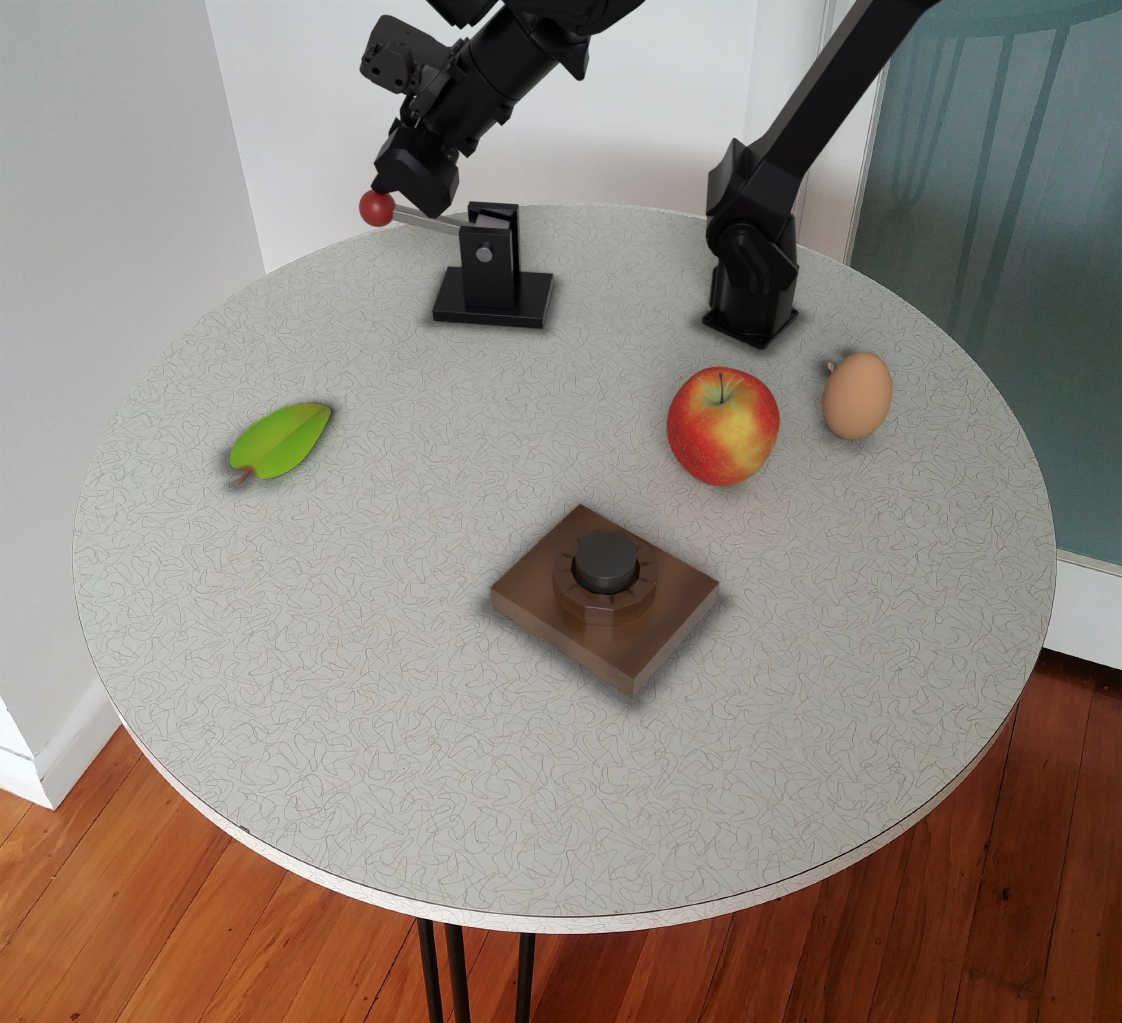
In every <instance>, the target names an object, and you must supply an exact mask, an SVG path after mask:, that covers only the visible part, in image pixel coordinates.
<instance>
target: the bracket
mask: <svg viewBox="0 0 1122 1023" xmlns="http://www.w3.org/2000/svg"><path fill="white" fill-rule="evenodd" d="M479 214H481V215H485V216H489V217H493V218H497V219H501V220H505V221H509V222H510V224H509V229H502V228H487V227H472V226H461V227H460V229H459V237H458V241H459V253H460V265H461V266H450V265H448V266H447V267H446V270H445V273H444V275H443V279H442V281H441V284H440V286H439V290H438V293H437V296H436V297H435V302H434V304H433V307H432V310H431V312H432V320H433V322H442V323H443V322H444V323H456V324H470V325H481V326H482V325H483V326H484V325H485V326H496V327H497V326H498V327H510V328H524V329H539V330H543V329H544V326H545V321H546V317H547V313H548V308H549V303H550V299H551V296H552V290H553V286H554V274H553V273H551V272H538V271H537V272H536V271H525V270H524V271H523V270H522V253H521V227H520V226H521V224H520V204H518V203H507V202H492V201H491V202H489V201H477V200H476V201H474V200H469V201H468V204H467V222H470V223H474V224H476V221H477V218H478V215H479Z"/></svg>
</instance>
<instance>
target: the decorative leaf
mask: <svg viewBox="0 0 1122 1023" xmlns="http://www.w3.org/2000/svg"><path fill="white" fill-rule="evenodd" d="M331 413H332V409H331V407H329V406H327V405H323V404H320V403H314V402H305V403H297V404H292V405H288V406H285V407H281V408H279V409H276V410H274V411H273V412H271V413H269V414H267V415H265V416H264V417H262V418H260V419H259V420H257V421H256V422H255V423H253V424H252V425H250V426H249V427H248V428H247V429H245V431H244V432H242V434H240V436H239V437H238V438H237V439H236V441H235V443H234V444H233V445H232V447H231V450H230V453H229V463H230V465H231V467H232V468H234V469H236V470H243V471H244V470H245V472H244V474H243V475H242V477H241V478H240V479H239V480H238V481H237V482H236V483H237V485H240V484H241V483H242V481H244V480H245V479H246V477H248V475H249V474H250V472H251V473H252V474H253V475H254V476H255V478H258V479H262V480H267V479H271V478H276V477H278V476H281V475H283V474H285V473H287V472H289V471H291V470H292V469H294V468H295V467H296V466H297V465H299V464H300V463H301V462H302V461H303V460H304V458H306V456H307V455H308V454H309V453H310V451H311V450H312V448H313V447H314V446H315V444H316V443H317V441H318V439H319V437H320V435H321V434H322V432H323V430H324V429H325V426H326V425H327V423H328V421H329V419H330V416H331Z"/></svg>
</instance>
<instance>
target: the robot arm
mask: <svg viewBox="0 0 1122 1023" xmlns="http://www.w3.org/2000/svg"><path fill="white" fill-rule="evenodd" d="M425 1H426V3H427V4H429V6H430V7H431V8H432V9H433V10H435V12H436V13H437V14H438V15H439V16H440V17H441V18H442V19H443V20H444V21H445V22H447V24H448V25H450V27H451V28H453V27H454V26H456V27H457V29H458V30H460V31H461V30H463V29H464V28H465V27H467V26H468V25H469V26H470V27H471V28H474V27H475V26H477V24H479V23H480V22H481V21H482V20H483V19H484V18H485V17H486V16H487V15H488V14H489V12H490V11H491V10H492V9H493V7H495V6H496V4H497V3H498V2H499V1H501V2H502V3H503V5H502V6H501V7H500V8H499V9H498V10H497V11H496V12H495V13H494V14H493V15H492V17H490V18H489V19H488V20H487V21H486V22H485V24H484V25H483V26H482V27H481V28H480V29H479V30H477V32H476V33H475V34H474V35H473V36H471V38H469V37H468V36H465V37H464V39H463V38H462V37H459V38H458V39H457V40H456V41H455V42H454V44H452V45H451V46H447V45H446V44H444V43H442V42H440V41H439V40H437V39H436V38H435V37H434V36H433V35H431V34H429V33H427V32H425V31H423V30H422V29H419V28H418V27H415V26H413V25H411V24H410V23H407V22H406V21H403V20H401V19H399V18H398V17H396V16H393V15H391V14H381V15H380V17H379V18H378V20H377V21H376V23H375V25H374V26H373V28H372V29H371V31H370V34H369V37H368V39H367V43H366V47H365V50H364V52H363V54H362V56H361V58H360V60H361V62H360V64H359V68H358V71H359V73H360V74H361V75H362V77H363V78H365V79H367V80H369V82H371V83H372V84H374V85H376V86H378V87H381V88H382V89H384V90H386V91H388V92H390V93H392V94H394V95H399V94H402V95H404V96H405V97H404V99H403V100H402V104H401V105H400V107H399V118H398V117H397V116H395V117H394V120H393V122H392V124H391V125H390V127H389V129H388V132H387V136H388V137H387V139H386V140H385V142H384V143H383V144H381V145H382V146H381V147H380V148H379V151H378V153H377V155H376V157H375V159H374V161H373V166H374V168H375V170H376V175H375V176H374V178H373V180H372V182H371V183H370V190H372V189H373V190H374V191H375V192H376V193H377V194H379V195H383V194H387V193H389V194H391V193H397V192H398V193H400V194H401V195H402V196H403V197H405V198H406V199H407V200H408V201H409V202H410V203H411V204H412V205H414V206H415V207H416V209H418V210H420V211H422V212H423V213H424V214H425V215H426V216H427V217H428V218H432V219H437V218H438V217H439V216H440V215H443V213H445V212H446V210H448V209H449V208H451V206H452V204H453V201H454V198H455V196H456V194H457V191H458V189H459V185H460V172H459V167H458V166H457V164H458V160H459V159H460V153H461V154H462V155H463V156H464V158H466V159H469V157H470V156H472V155H473V154H474V153H476V151H477V148H478V145H479V142H480V140H481V138H482V137H483V136H484V135H485V134H486V133H488V131H489V130H490V129H491V128H493V127H494V126H495V125H496V124H499V126H500V127H503V126H504V125H505V124H506V123H507V122H508V121H509V120H511V117H512V115H513V111H514V108H515V106H516V105H517V104H518V103H519V102H520V101H521V100H522V99H524V97H525V96H526V95H528V93H530V92H531V91H532V90H533V89H534V88H535V87H536V86H537V85H538V84H539V83H540V82H541V81H542V80H543V79H545V78H546V77H547V76H548V75H549V73H551V72H552V71H553V70H554V68H556V67H558V65H559V64H560V65H561V66H562V67H563V68H564V69H565V70H566V71H567V72H568V73H569V74H570V75H571V76H572V77H573V78H574V80H576V81H578V82H582V81H584V80H585V78H586V74H587V70H588V66H589V63H590V52H589V50H590V48H589V47H590V43H591V39H592V37H593V36H595V35H598V34H601V33H603V32H605V31H606V30H608V29H610V28H611V27H612V26H614V25H615V24H617V23H618V22H619V21H621V20H622V19H624V18H625V17H627V16H628V15H629V14H630V13H632V12H634V11H635V10H636V9H638V8H639V7H640V6H641V5H643V4H644V3H645V2H646V1H647V0H425ZM942 1H943V0H855V1H854V3H853V4H852V6H851V7H850V9H849V10H848V11H847V13H846V14H845V16H844V17H843V19H842V21H841V22H840V23H839V25H838V26H837V28H836V29H835V31H834V32H833V34H832V35H831V36H830V38H829V40H828V41H827V43H826V44H825V45H824V47H823V48H822V49H821V51H820V52H819V54H818V56H817V57H816V59H814V61H813V63H812V64H811V65H810V67H809V69H808V70H807V72H806V73H805V75H804V76H803V77H802V79H801V81H800V82H799V84H798V85H797V86H796V87H795V90H794V91H793V92H792V94H791V95H790V97H789V99H787V101H786V103H785V104H784V106H783V107H782V108H781V110H780V112H779V113H778V114H777V116H776V117H775V119H773V122H772V123H771V124H770V126H769V128H768V129H767V130H766V131H765V133H763V135H762V136H760V137H759V138H757V139H756V140H754V141H752V142H751V143H750V144H748V145H746V144H744V143H743V142H742V141H740V140H739V139H738V138H737V137H732V139H731V141H730V142H729V144H728V146H727V148H726V150H725V152H724V153H725V154H724V156H723V157H722V159H721V160H720V162H719V163H718V164H717V165H716V166H715V167H714V168H712V169H711V170H710V171H708V173H707V186H706V202H705V217H706V220H705V240H706V244H707V248H708V249H709V251H710V252H711V253H712V254H713V256H714V257H716V258H717V264H716V265H715V266H714V267H713V268H712V271H711V281H710V288H709V289H710V290H709V297H708V306H709V308H711V309H710V310H709V311H708V312H706V313H705V314H704V315H703V316H702V318H701V323H702V325H704V326H706V327H709V328H711V329H712V330H715V331H718V332H720V333H721V334H724V335H727V336H728V337H731V338H733V339H735V340H737V341H740V342H742V343H744V344H746V345H749V346H751V347H753V348H756V349H757V350H765V349H766V348H767V347H769V345H770V344H771V343H773V342H774V341H775V339H777V338H778V337H779V336H780V335H781V334H782V333H783V332H784V331H785V330H786V329H787V328H788V327H790V326H791V324H793V322H795V320H797V319H798V317H799V315H800V314H799V313H800V312H799V310H798V309H796V308H794V307H793V304H794V298H795V292H796V288H797V282H798V277H799V271H800V267H801V266H800V264H799V263H798V250H797V249H798V248H797V224H796V223H797V222H796V216H795V215H794V214H793V213H792V210H793V208H794V204H795V201H796V198H797V196H798V193H799V191H800V188H801V184H802V182H803V180H804V178H805V176H806V173H807V172H808V170H809V169H810V168H811V167H812V166H813V164H814V162H816V160H817V158H819V156H820V154H821V153H822V152H823V151H824V150H825V148H826V146H827V145H828V143H829V142H830V141H831V139H832V138H833V137H834V136H835V134H836V133H837V131H838V130H839V129H840V128H841V126H842V125H843V123H844V122H845V121H846V119H847V118H848V117H849V115H850V113H851V112H852V111H853V110H854V108H855V107H856V105H858V103H859V101H860V100H861V98H863V96H864V95H865V93H866V92H867V91H868V89H869V88H870V87H871V86H872V84H873V83H874V81H875V80H876V78H877V77H878V75H879V74H880V73H881V71H882V70H883V69H884V67H885V66H886V65H887V63H888V62H889V61H890V59H891V58H892V57H893V56H894V54H895V52H896V51H897V50H898V48H899V47H900V46H901V44H902V43H903V42H904V40H905V39H906V38H907V36H908V35H909V34H910V32H911V31H912V29H913V28H914V27H915V25H917V23H918V21H919V20H920V19H921V18H922V17H923V15H924V14H925V13H927V12H928V11H929V10H930V9H932V8H934V7H935V6H936V5H938V4H940V3H941V2H942Z"/></svg>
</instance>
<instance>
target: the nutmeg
mask: <svg viewBox="0 0 1122 1023" xmlns="http://www.w3.org/2000/svg"><path fill="white" fill-rule="evenodd" d="M826 369H827V370H830V374H831V373H832V372H833V370H834V369H835V365H834V363H833V362H827V363H826Z"/></svg>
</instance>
